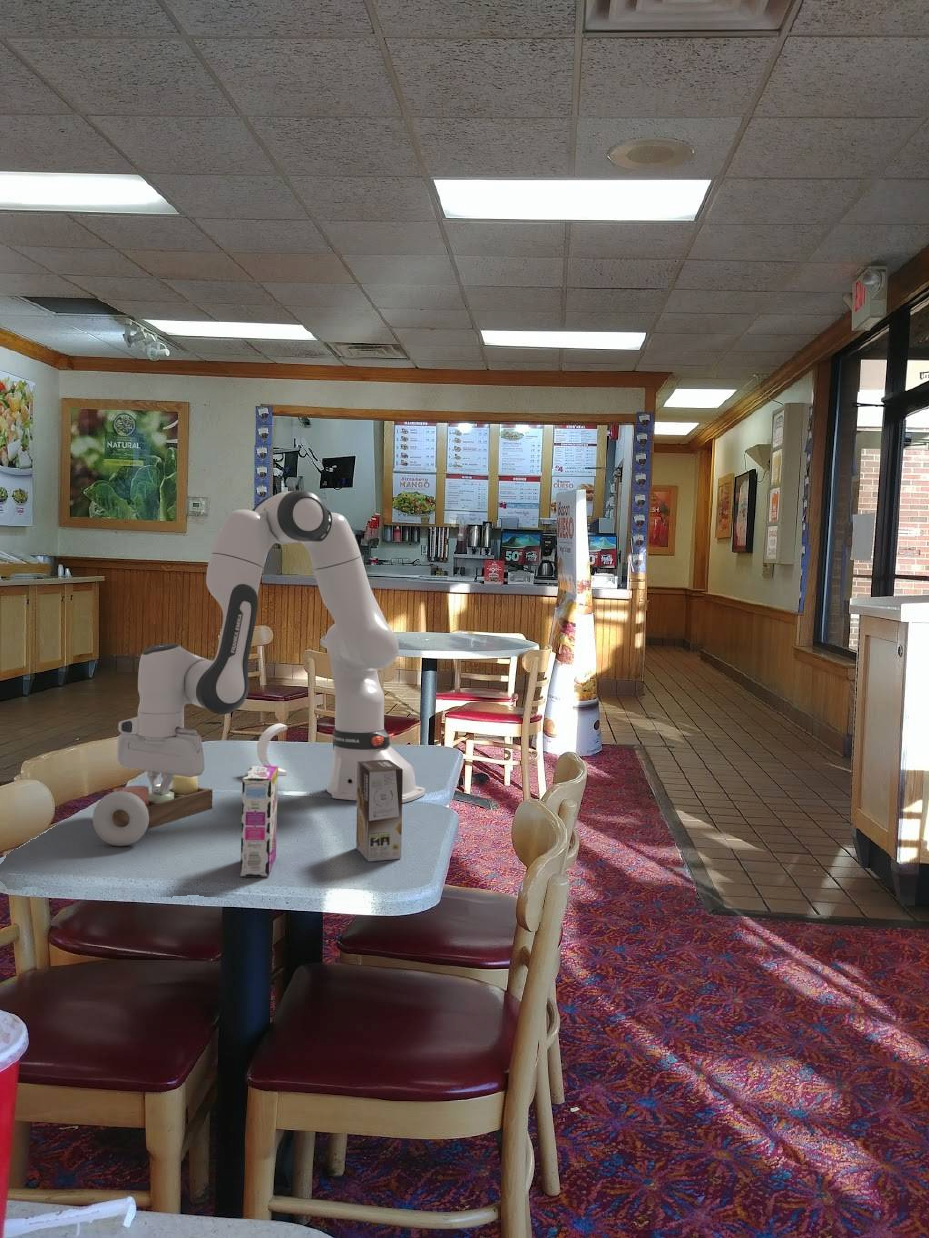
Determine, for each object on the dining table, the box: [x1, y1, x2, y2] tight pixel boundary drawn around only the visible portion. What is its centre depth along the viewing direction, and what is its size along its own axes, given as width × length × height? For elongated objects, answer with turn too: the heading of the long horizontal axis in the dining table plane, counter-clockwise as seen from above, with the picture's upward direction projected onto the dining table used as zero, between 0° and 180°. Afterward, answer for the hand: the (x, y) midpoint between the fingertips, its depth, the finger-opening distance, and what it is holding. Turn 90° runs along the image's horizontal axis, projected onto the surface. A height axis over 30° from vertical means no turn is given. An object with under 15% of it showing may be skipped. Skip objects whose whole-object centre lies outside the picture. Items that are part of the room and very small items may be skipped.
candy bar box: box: [239, 765, 279, 878], centre depth 163 cm, size 11×5×16 cm, turn 5°
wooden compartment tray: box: [112, 786, 213, 830], centre depth 193 cm, size 8×21×4 cm, turn 153°
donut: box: [92, 790, 149, 847], centre depth 173 cm, size 10×4×10 cm, turn 90°
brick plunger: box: [121, 785, 150, 807], centre depth 187 cm, size 5×5×4 cm
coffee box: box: [355, 760, 403, 862], centre depth 172 cm, size 9×6×16 cm
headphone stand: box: [256, 723, 288, 777], centre depth 234 cm, size 5×6×12 cm
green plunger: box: [149, 791, 174, 802], centre depth 193 cm, size 5×5×4 cm
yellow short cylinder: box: [171, 775, 199, 795], centre depth 199 cm, size 5×5×4 cm
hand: (160, 793), depth 193 cm, fingers closed, pressing on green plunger
